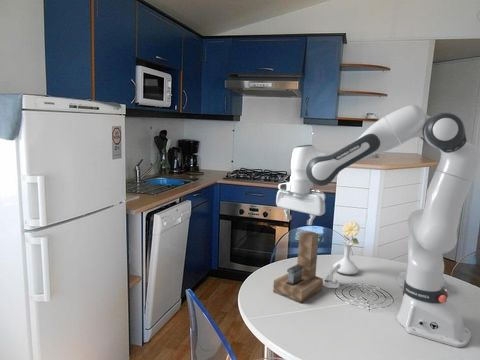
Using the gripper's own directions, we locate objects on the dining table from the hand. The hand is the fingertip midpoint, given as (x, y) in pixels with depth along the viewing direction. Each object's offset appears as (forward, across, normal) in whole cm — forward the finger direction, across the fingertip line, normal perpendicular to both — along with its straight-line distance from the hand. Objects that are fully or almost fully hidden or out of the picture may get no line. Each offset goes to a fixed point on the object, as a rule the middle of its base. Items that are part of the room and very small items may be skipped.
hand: (298, 222), depth 143 cm
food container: (+30, -35, -46) cm, 65 cm away
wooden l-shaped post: (+29, 0, -3) cm, 29 cm away
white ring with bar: (+29, -6, -19) cm, 35 cm away
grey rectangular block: (+28, 0, 0) cm, 28 cm away
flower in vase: (+29, -5, -36) cm, 46 cm away
